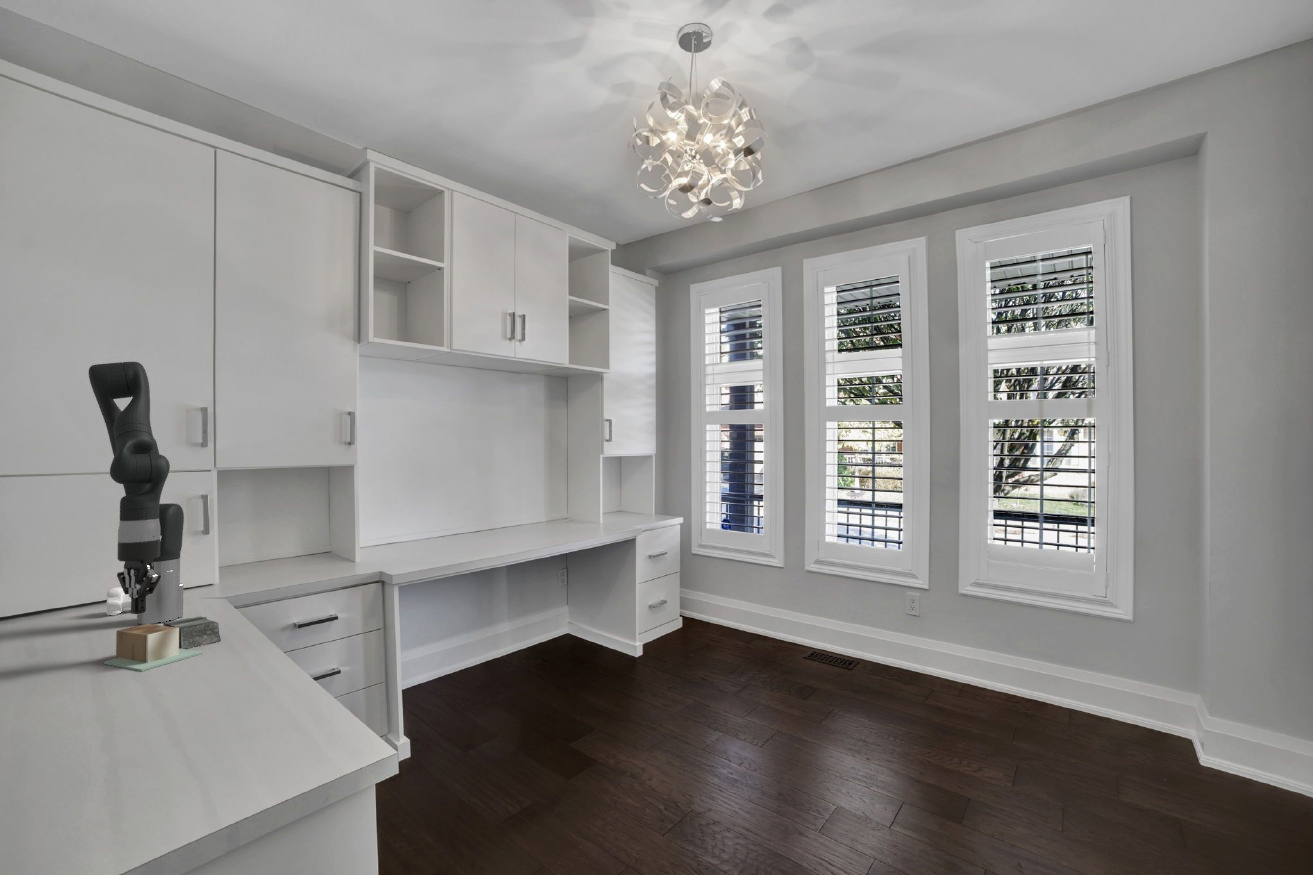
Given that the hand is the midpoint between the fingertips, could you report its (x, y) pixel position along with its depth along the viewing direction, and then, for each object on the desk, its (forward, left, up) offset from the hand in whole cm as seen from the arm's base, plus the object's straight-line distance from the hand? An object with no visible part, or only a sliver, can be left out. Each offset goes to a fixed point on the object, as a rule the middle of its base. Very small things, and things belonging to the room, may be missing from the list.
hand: (138, 613), depth 137 cm
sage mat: (0, +7, -10) cm, 12 cm away
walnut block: (0, -2, -6) cm, 7 cm away
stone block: (-12, 0, -10) cm, 16 cm away
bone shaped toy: (-26, -49, -10) cm, 57 cm away
